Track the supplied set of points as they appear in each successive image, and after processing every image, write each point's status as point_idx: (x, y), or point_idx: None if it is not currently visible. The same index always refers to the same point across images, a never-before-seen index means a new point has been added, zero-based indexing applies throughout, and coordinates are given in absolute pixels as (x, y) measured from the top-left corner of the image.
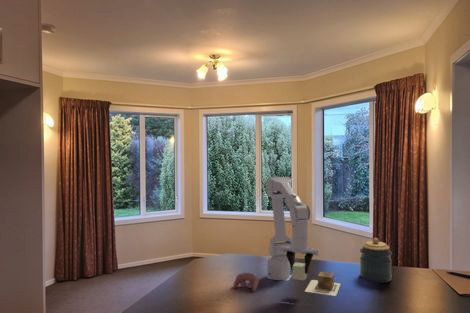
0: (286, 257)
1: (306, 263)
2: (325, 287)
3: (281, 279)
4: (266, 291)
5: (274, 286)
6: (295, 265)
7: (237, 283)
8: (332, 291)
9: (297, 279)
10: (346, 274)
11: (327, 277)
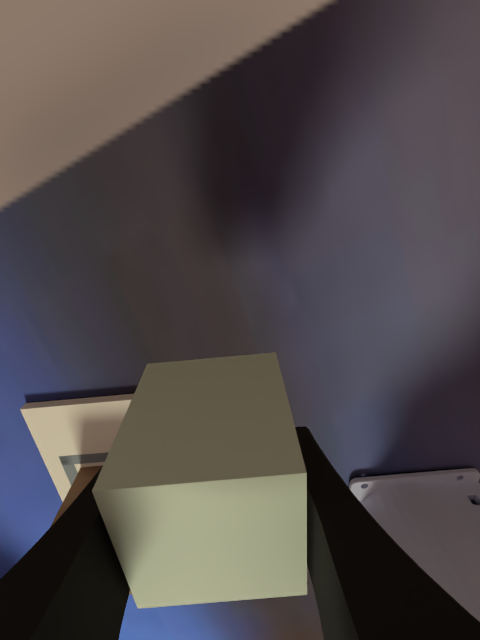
0: None
1: (33, 582)
2: None
3: (391, 482)
4: (452, 304)
5: (413, 396)
6: (263, 503)
7: None
8: (69, 454)
9: (220, 357)
10: None
11: None
